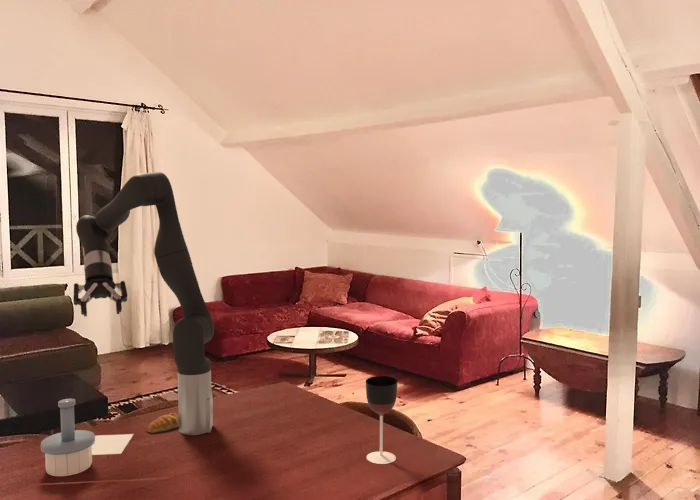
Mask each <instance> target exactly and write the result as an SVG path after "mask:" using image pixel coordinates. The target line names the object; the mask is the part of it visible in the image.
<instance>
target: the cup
mask: <svg viewBox="0 0 700 500" xmlns="http://www.w3.org/2000/svg"><path fill="white" fill-rule="evenodd" d="M44 454H45V455H44V457H45V458H44V459H45V470H46V471H45V472H46V473H47V475H50V476H53V477H67V476H72V475H77V474H80V473H83V472H84V471H86V470H88V469H89V468H90V467H91V466H92V463H93V455H92V446H90V447H88V448H86V449H84V450H81V451H78V452H74V453H70V454H62V455H51V454H46V453H44Z"/></svg>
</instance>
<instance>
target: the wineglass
mask: <svg viewBox="0 0 700 500" xmlns="http://www.w3.org/2000/svg"><path fill="white" fill-rule="evenodd" d="M365 392H366V393H365V394H366V400H367V401H366V402H367V405H368V407H369V408H370V410H371V411H372V412H374V413H376V414H377V415H379V451H373V452H370V453H368V454H367V455H366V461H368V462H369V463H373V464H378V465H385V464H390V463H393V462H395V461H396V459H397V457H396V455H395V454H394V453H392V452H388V451H383V449H384V448H383V447H384V444H383V443H384V442H383V441H384V440H383V439H384V435H383V433H384V415H385V414H387V413H389V412H390V411H392V410H393V408H394V407H395V405H396V402H397V401H396V400H397V395H398V379H397V378H395V377H392V376H387V375H377V376H370V377H368V378H366V380H365Z"/></svg>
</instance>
